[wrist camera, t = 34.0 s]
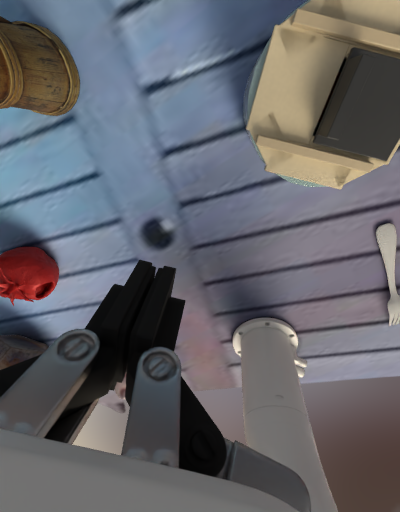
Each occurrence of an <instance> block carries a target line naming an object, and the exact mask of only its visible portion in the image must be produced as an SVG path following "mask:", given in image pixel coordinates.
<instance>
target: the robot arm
mask: <svg viewBox="0 0 400 512" xmlns="http://www.w3.org/2000/svg"><path fill="white" fill-rule="evenodd" d="M155 270H156V267H154V266H152V263H151V262H147V261H143V260H139V262H138V263H137V265H136V267H135V268H134V270H133V272H132V273H131V275H130V277H129V279H128V280H127V282H126V284H125V285H124V286H122V285H117V284H114V285H113V286H112V288H111V289H110V291H109V292H108V294H107V295H106V297H105V298H104V300H103V301H102V303H101V305H100V306H99V308H98V309H97V311H96V312H95V314H94V315H93V317H92V318H91V320H90V321H89V323H88V325H87V326H86V328H85V329H75V330H71V331H68V332H66V333H64V334H62V335H61V336H60V337H59V338H57V339H56V340H55V341H54V343H53V344H52V345H51V346H50V347H49V348H48V349H47V350H46V351H45V352H44V353H43V354H41V355H38V356H36V357H33V358H30V359H28V360H25V361H22V362H20V363H17V364H15V365H12V366H9V367H7V368H4V369H1V370H0V512H338V510H337V507H336V504H335V502H334V499H333V496H332V494H331V491H330V488H329V486H328V483H327V480H326V477H325V474H324V471H323V468H322V465H321V462H320V458H319V455H318V451H317V447H316V444H315V440H314V436H313V432H312V429H311V425H310V421H309V417H308V414H307V409H306V406H305V401H304V397H303V393H302V389H301V385H300V381H299V377H301V378H302V377H303V376H304V374H305V370H304V368H302V367H306V366H307V361H306V360H304V359H302V358H299V357H298V356H297V353H296V349H297V347H298V338H297V334H296V332H295V330H294V329H293V328H292V327H291V326H290V325H289V324H287V323H286V322H284V321H282V320H278V319H275V318H256V319H252V320H249V321H247V322H245V323H243V324H242V325H240V326H239V327H238V328H237V329H236V331H235V332H234V335H233V348H234V350H235V352H236V353H237V354H238V355H239V356H240V357H241V368H242V392H243V415H244V416H243V418H244V435H245V439H246V442H247V445H248V447H247V446H245V445H243V444H242V443H240V442H238V441H235V442H234V443H233V442H231V441H230V440H228V439H225V438H224V437H223V436H222V434H221V432H220V431H219V429H218V428H217V426H216V425H215V424H214V422H213V421H212V419H211V418H210V416H209V415H208V413H207V412H206V411H205V409H204V408H203V406H202V405H201V404H200V402H199V401H198V399H197V398H196V396H195V395H194V394H193V392H192V391H191V389H190V388H189V387H188V385H187V384H186V382H185V381H184V379H183V378H182V377H181V363H180V360H179V358H178V356H177V355H176V354H175V353H174V348H175V344H176V340H177V335H178V331H179V327H180V322H181V318H182V314H183V309H184V305H185V301H186V300H181V299H177V298H173V297H171V293H172V288H173V283H174V278H175V273H176V268H172V267H168V266H164V268H159V269H158V271H157V273H156V276H155ZM154 277H155V278H154ZM296 364H298V365H300V366H302V367H300V366H297V365H296ZM126 372H127V373H126ZM125 374H126V390H125V399H126V401H127V402H128V404H129V406H130V410H129V415H128V420H127V426H126V431H125V437H124V442H123V448H122V453H121V455H116V454H112V453H107V452H103V451H99V450H94V449H90V448H85V447H80V446H76V445H72V444H73V442H74V440H75V439H76V437H77V436H78V434H79V432H80V430H81V429H82V427H83V426H84V424H85V423H86V421H87V419H88V418H89V416H90V414H91V413H92V411H93V410H94V408H95V406H96V405H97V402H98V400H99V398H100V397H102V396H104V395H106V394H108V392H109V390H113V391H114V389H115V386H116V384H117V382H119V383H122V381H123V379H124V377H125Z"/></svg>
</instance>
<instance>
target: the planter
mask: <svg viewBox="0 0 400 512" xmlns="http://www.w3.org/2000/svg"><path fill="white" fill-rule="evenodd" d="M48 348H49V347H48V346H47V344H44V343H41V342H38V341H35V340H32V339H30V338H27V337H24V336H21V335H0V370H1V369H4V368H7V367H9V366H12V365H15V364H17V363H20V362H22V361H25V360H28V359H30V358H33V357H36V356H38V355H41V354H43V353H44V352H45V351H46V350H47V349H48Z"/></svg>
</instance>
